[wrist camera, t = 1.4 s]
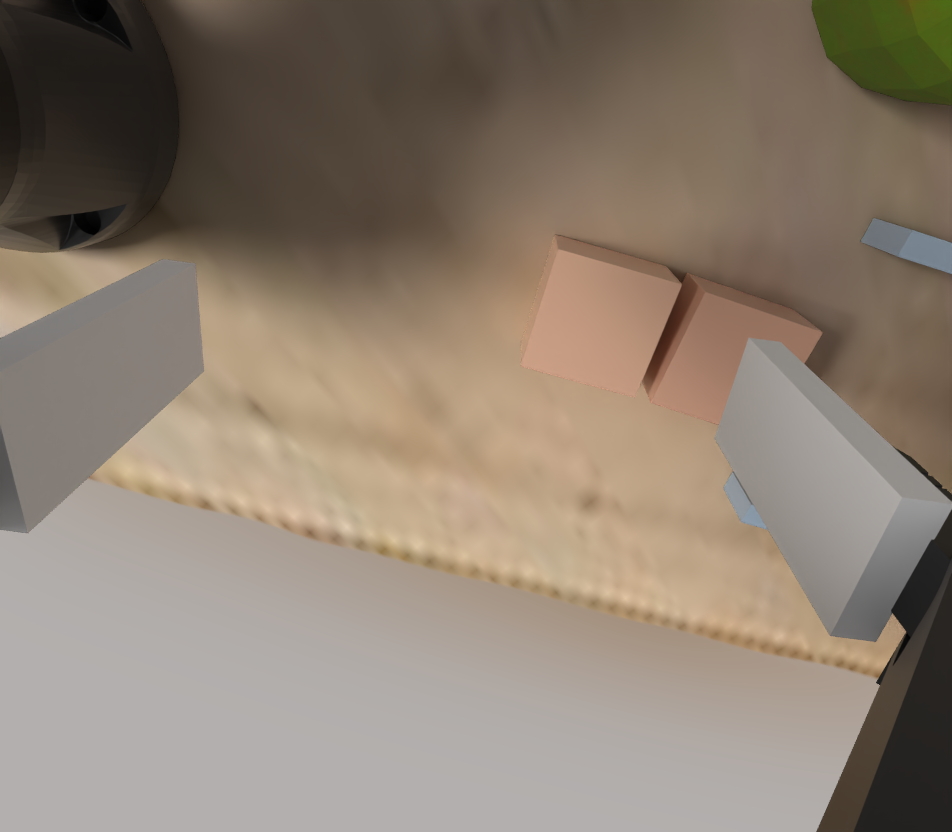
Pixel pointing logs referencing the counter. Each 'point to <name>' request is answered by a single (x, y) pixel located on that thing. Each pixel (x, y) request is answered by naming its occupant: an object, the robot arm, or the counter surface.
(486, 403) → the counter surface
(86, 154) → the robot arm
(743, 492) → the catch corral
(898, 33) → the apple
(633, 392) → the terracotta tile
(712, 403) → the terracotta tile
